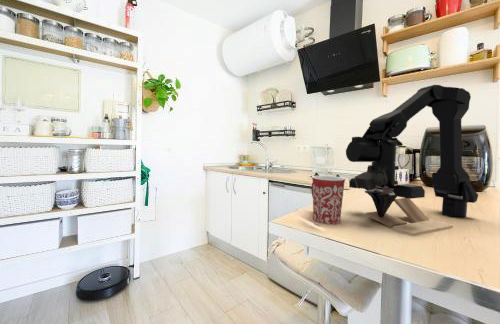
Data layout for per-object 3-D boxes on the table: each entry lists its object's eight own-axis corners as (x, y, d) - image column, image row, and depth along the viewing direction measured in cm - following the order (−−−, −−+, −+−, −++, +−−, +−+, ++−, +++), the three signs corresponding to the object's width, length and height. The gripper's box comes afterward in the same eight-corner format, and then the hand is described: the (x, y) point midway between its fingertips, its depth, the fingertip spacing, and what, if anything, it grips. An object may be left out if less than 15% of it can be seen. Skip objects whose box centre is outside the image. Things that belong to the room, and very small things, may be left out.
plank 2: (406, 199, 67) (408, 197, 67) (428, 221, 62) (430, 220, 61) (393, 200, 65) (395, 199, 65) (414, 224, 60) (416, 222, 59)
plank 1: (380, 213, 66) (380, 210, 66) (406, 225, 59) (407, 222, 59) (365, 215, 64) (366, 212, 64) (391, 227, 57) (392, 225, 56)
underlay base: (399, 216, 70) (399, 211, 70) (452, 232, 57) (452, 225, 57) (362, 221, 64) (362, 215, 64) (412, 240, 51) (412, 233, 51)
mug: (350, 228, 59) (352, 179, 58) (319, 230, 57) (321, 179, 56) (326, 214, 71) (328, 174, 70) (300, 215, 70) (301, 174, 69)
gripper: (336, 160, 66) (334, 210, 67) (396, 164, 49) (393, 231, 50) (363, 160, 71) (361, 208, 71) (427, 163, 53) (424, 226, 54)
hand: (381, 216), depth 61 cm, fingers closed, pressing on plank 1
